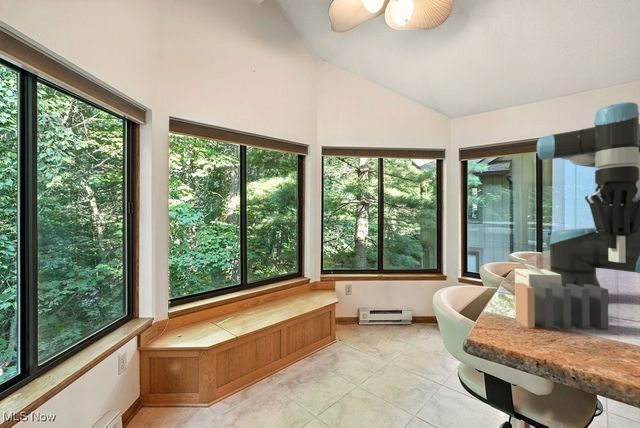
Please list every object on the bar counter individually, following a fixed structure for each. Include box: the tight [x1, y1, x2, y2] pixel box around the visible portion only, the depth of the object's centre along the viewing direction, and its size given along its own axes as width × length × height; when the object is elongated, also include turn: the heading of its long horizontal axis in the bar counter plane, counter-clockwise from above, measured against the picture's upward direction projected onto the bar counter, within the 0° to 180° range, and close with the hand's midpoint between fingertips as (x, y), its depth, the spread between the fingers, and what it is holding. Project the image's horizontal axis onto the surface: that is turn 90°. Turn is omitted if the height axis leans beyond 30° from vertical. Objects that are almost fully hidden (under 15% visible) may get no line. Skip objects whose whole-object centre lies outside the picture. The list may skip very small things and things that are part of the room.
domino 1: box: [514, 282, 536, 329], centre depth 72 cm, size 2×5×10 cm, turn 174°
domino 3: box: [549, 284, 572, 330], centre depth 71 cm, size 2×5×10 cm, turn 174°
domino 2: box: [532, 283, 554, 330], centre depth 71 cm, size 2×5×10 cm, turn 174°
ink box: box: [514, 263, 562, 307], centre depth 81 cm, size 9×8×13 cm
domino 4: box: [566, 284, 591, 331], centre depth 70 cm, size 2×5×10 cm, turn 174°
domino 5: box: [584, 284, 609, 331], centre depth 70 cm, size 2×5×10 cm, turn 174°
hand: (616, 261), depth 69 cm, fingers closed
